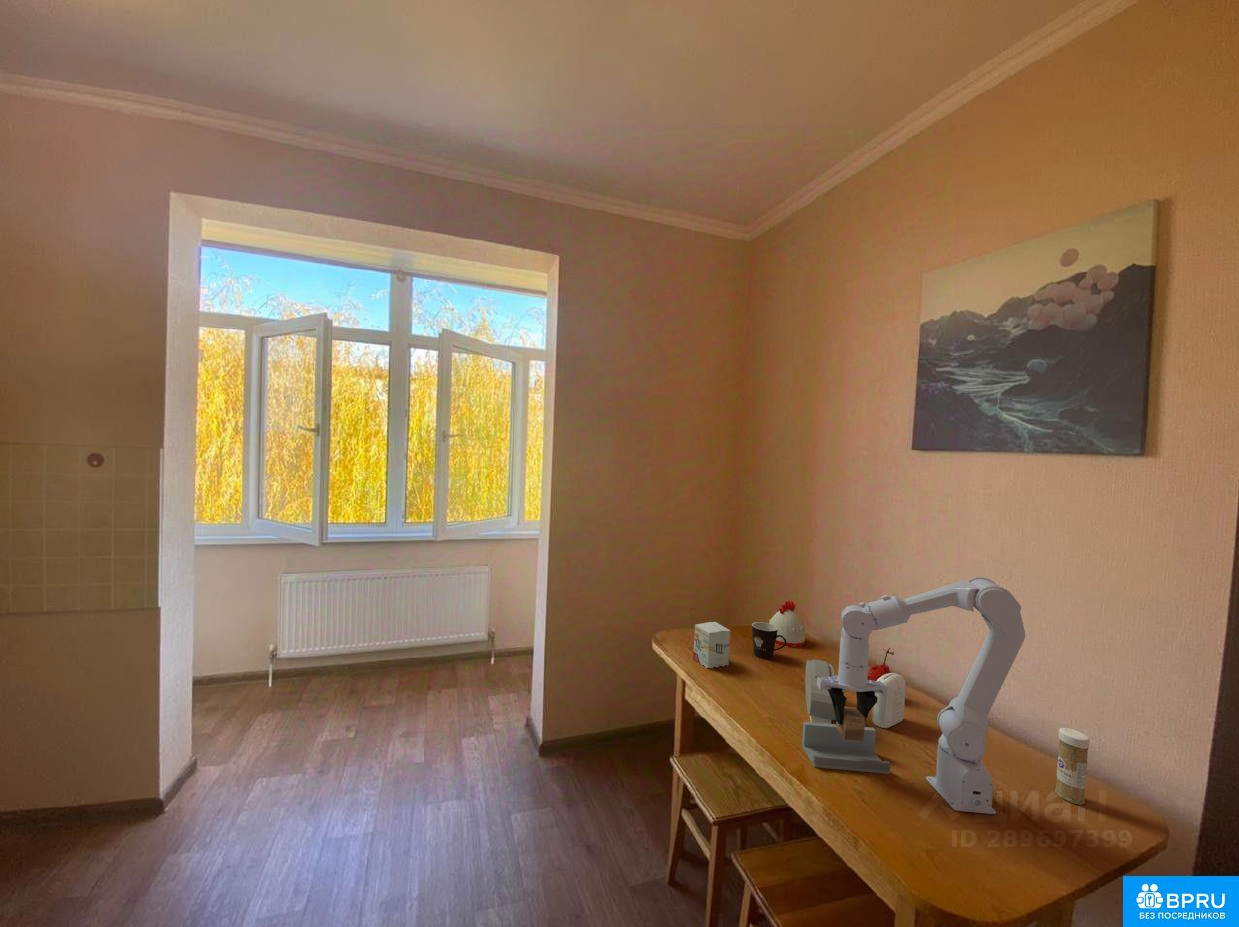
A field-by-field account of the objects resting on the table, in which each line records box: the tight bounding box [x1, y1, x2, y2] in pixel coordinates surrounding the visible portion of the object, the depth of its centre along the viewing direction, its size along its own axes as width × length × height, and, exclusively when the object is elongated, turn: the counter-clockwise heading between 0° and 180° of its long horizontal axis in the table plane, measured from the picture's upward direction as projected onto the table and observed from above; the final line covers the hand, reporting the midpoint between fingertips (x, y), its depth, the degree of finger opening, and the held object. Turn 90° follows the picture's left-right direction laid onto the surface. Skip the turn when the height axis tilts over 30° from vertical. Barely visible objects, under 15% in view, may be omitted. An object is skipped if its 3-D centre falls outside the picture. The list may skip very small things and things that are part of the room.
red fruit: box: [867, 647, 895, 681], centre depth 138 cm, size 8×7×15 cm
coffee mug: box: [751, 621, 786, 660], centre depth 161 cm, size 12×9×10 cm
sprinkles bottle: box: [1054, 727, 1090, 805], centre depth 97 cm, size 5×5×14 cm
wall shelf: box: [801, 721, 891, 775], centre depth 105 cm, size 8×16×6 cm, turn 87°
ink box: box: [692, 621, 731, 669], centre depth 154 cm, size 9×9×12 cm
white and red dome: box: [768, 600, 806, 648], centre depth 178 cm, size 14×14×15 cm
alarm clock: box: [804, 658, 836, 724], centre depth 126 cm, size 23×6×13 cm, turn 161°
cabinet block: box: [835, 706, 866, 741], centre depth 104 cm, size 5×4×5 cm
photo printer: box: [871, 672, 907, 729], centre depth 123 cm, size 10×4×12 cm, turn 123°
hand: (849, 722), depth 104 cm, fingers closed on cabinet block, 4 cm apart
